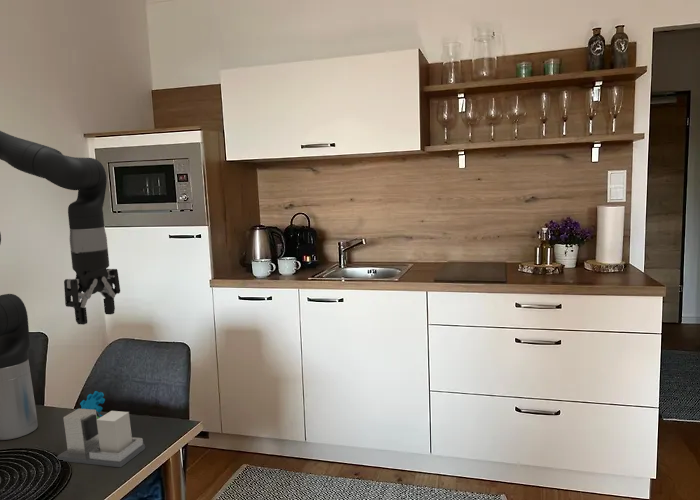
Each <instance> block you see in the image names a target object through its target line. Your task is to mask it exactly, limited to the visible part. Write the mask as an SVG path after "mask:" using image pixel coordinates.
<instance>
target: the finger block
mask: <svg viewBox="0 0 700 500" xmlns="http://www.w3.org/2000/svg"><path fill="white" fill-rule="evenodd" d="M97 428H98V436H99V444H100V451H102V452H112V453H119V452H121V451H122V450H124V449H125V448H126V447H128V446H129V445H130V444H132V437H133V435H132V429H131V419H130V411H118V410H110V411H109V412H107V413H105V414H104V415H103V416H102V417H100V418H99V419H97Z"/></svg>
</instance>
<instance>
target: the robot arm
mask: <svg viewBox="0 0 700 500" xmlns="http://www.w3.org/2000/svg"><path fill="white" fill-rule="evenodd" d="M0 160H1V161H4V162H5V163H7V164H8V165H10V167H12V168H14V169H16V170H18V171H20V172H23V173H26V174H28V175H31V176H36V177H37V178H41V179H46V181H48V182H50V183H51V184H54V185H56V186H58V187H59V188H62V189H66V190H69V191H77V198H76V200H75V201H73V202H71V203H70V204H69V205H68V206H67V207H68V208H67V214H68V215H67V216H68V226H69V245H70V246H69V247H70V256H71V265H72V266H71V267H72V270H73V271H74V272H75V278H66V279H65V280H64V281H63V282H64V283H63V285H64V303H65V307H67V308H73V309H74V314H75V315H74V316H75V322H76V323H77V325H87V324H88V316H87V315H88V313H87V307H86V305H87V302H88V300H89V299H90V298H91V297H92V295H94V294H96V293H100V294H101V295H102V297H103V308H104V309H103V310H104V313H105V315H114V314H115V312H116V311H115V310H116V307H115V306H116V304H115V297H116V295H117V294H120V293H121V287H120V279H119V273H118V271H119V270H118V269H117V268H109V267H110V259H109V247H108V238H107V233H106V228H105V219H104V210H103V207H104V203H105V197H106V191H107V183H108V181H107V171H106V170H105V167H104V165H103V164H102V163H101V161H100V160H98V159H97V158H93V157H74V156H68V155H64V154H63V153H62V152H61V151H60V150H58V149H57V148H54V147H51V146H48V145H45V144H41V143H38V142H34V141H32V140H28V139H24V138H20V137H17V136H14V135H12V134H9V133H6V132H5V131H2V130H0ZM1 243H2V235H1V232H0V245H1ZM113 285H114V286H113ZM25 305H26V304H25V302H23V300H22V299H21V298H20V296H17V295H16V294H14V293H4V294H0V441H5V440H6V441H7V440H12V439H17V438H21V437H24V436H26V435H28V434H31V433H32V432H34V431H36V429H37V428H38V427H39V424H38V417H37V407H36V401H35V397H34V387H33V382H32V375H31V374H32V373H31V368H30V361H29V350H30V345H31V341H30V330H29V317H28V316H29V315H28V311H27V309H26V306H25Z"/></svg>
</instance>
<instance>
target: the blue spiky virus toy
mask: <svg viewBox="0 0 700 500" xmlns="http://www.w3.org/2000/svg"><path fill="white" fill-rule="evenodd" d="M104 396H105V394H104V392H102V391H100V392H99V391H97V390H95V391H94V392H93V394H92V393H89V394H88V395H87V396H86V400H85V399H83V400H81V402H79V406H80V407H81V408H80V409H92V410H96V415H97V419H99V418H100V417H102V416H104V415H102V414H101V412H102V411H103V407H102V406H101V405H103V404H104V403H105V401H106V398H104ZM100 404H101V405H100ZM77 409H78V408H76V409H75V410H77Z"/></svg>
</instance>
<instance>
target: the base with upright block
mask: <svg viewBox="0 0 700 500" xmlns="http://www.w3.org/2000/svg"><path fill="white" fill-rule="evenodd" d="M76 409H77V410H76ZM76 409H75V410H74V411H72V412H70V413H68V414H66V415H64V416H63V423H64V424H63V426H64V431H65V441H66V447H67V449H66V450H64V451H63V452H62V453H60V454H58V455H57V456H56V458H57V460H58V459H59V460H63V461H62V462H69V463H77V464H86V465H95V466H102V467H103V466H105V467H115V468H122V467H124V465H126V464H127V463H128V462H130V461H131V460H132V459H134V458H136V457H137V455H139V454H140V453H142V452H143V451H145V450H146V444H145V443H144V441H143V440H144V439H143V438H142V437H135V436H134V437H133V436H132V444H130V445H129V446H128V447H126V448H125V449H124V450H122V451H121V452H119V453H112V452H102V451H100V444H99V436H98V428H97V415H96V410H92V409H81V408H76Z"/></svg>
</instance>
